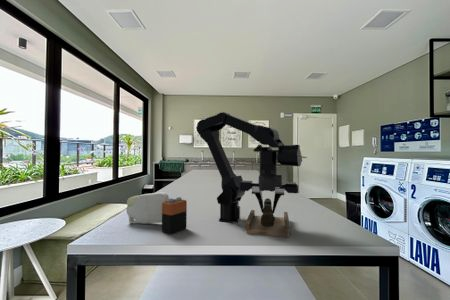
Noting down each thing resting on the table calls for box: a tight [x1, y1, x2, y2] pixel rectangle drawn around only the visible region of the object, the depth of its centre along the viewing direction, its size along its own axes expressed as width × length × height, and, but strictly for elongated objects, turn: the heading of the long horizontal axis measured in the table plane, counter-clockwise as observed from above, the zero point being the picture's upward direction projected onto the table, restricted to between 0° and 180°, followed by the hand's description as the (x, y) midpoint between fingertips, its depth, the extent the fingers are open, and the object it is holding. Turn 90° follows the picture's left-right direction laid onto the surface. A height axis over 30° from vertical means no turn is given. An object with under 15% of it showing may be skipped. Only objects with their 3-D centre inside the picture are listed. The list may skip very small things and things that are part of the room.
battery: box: [161, 196, 188, 235], centre depth 71 cm, size 4×7×10 cm, turn 145°
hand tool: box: [260, 197, 276, 227], centre depth 75 cm, size 19×4×5 cm, turn 167°
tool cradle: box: [244, 209, 291, 238], centre depth 75 cm, size 13×17×3 cm
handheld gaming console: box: [125, 191, 170, 225], centre depth 77 cm, size 11×3×15 cm
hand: (267, 212), depth 75 cm, fingers closed on hand tool, 3 cm apart
